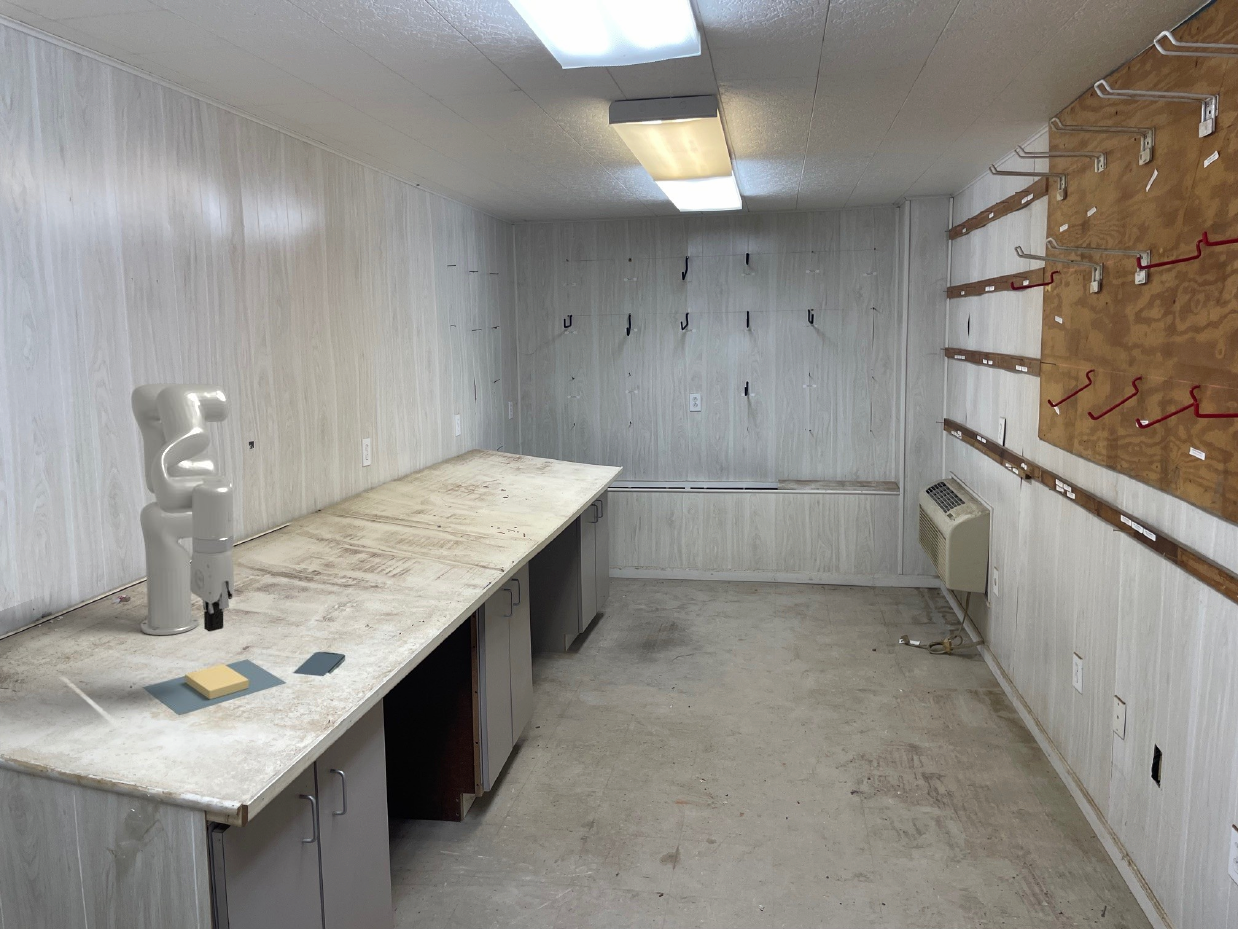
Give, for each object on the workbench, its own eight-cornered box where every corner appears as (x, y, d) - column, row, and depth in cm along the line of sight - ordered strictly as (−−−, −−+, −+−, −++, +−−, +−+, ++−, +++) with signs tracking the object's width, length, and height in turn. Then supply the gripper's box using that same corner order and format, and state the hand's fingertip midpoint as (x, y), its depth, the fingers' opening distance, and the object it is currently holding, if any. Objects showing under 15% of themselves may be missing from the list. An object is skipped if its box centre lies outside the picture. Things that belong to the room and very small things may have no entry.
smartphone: (284, 679, 182) (315, 650, 196) (284, 686, 182) (315, 657, 197) (318, 682, 181) (347, 653, 196) (318, 689, 181) (347, 660, 196)
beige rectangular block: (185, 674, 176) (209, 691, 170) (223, 664, 183) (248, 679, 176) (185, 683, 177) (210, 700, 170) (223, 672, 183) (248, 688, 176)
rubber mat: (142, 691, 174) (142, 687, 174) (247, 662, 191) (247, 659, 190) (179, 719, 163) (179, 715, 163) (286, 686, 180) (286, 682, 180)
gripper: (177, 538, 174) (179, 622, 177) (211, 556, 164) (212, 645, 168) (214, 532, 179) (215, 614, 183) (249, 549, 170) (249, 635, 174)
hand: (213, 628), depth 175 cm, fingers closed
